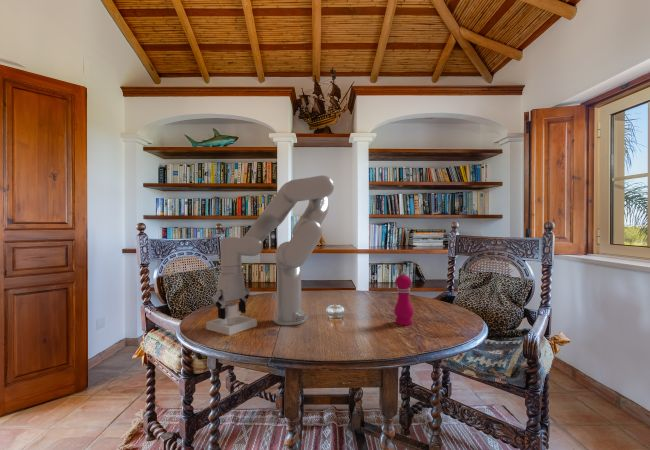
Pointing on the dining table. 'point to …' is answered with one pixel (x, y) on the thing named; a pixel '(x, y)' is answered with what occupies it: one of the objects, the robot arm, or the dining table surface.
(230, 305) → the pipe fitting
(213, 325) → the tray
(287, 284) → the robot arm
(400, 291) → the pepper mill
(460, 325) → the dining table surface
